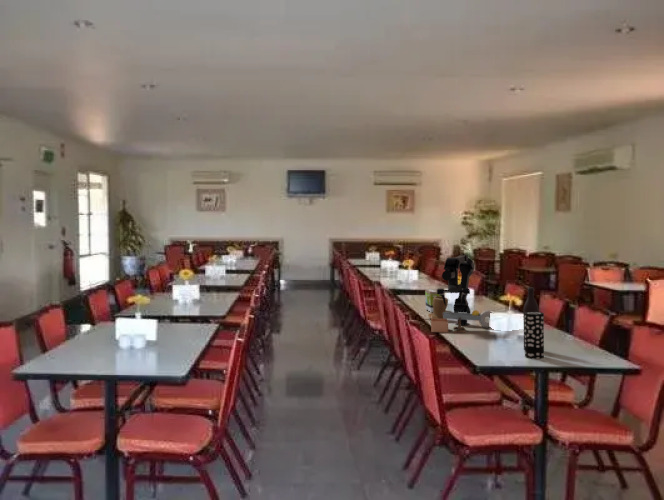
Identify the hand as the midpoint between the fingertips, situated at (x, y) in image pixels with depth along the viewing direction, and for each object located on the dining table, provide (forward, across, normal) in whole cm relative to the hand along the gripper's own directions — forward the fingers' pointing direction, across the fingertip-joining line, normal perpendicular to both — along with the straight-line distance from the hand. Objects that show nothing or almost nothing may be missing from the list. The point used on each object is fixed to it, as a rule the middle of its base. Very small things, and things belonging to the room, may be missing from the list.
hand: (453, 306), depth 391 cm
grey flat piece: (+6, +4, -5) cm, 9 cm away
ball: (+4, +12, -9) cm, 15 cm away
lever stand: (+13, +3, -8) cm, 16 cm away
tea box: (+14, -9, +75) cm, 76 cm away
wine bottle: (+13, +33, -67) cm, 76 cm away
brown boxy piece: (+13, -8, -8) cm, 18 cm away
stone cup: (+13, -8, +34) cm, 37 cm away
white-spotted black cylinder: (+13, +32, -82) cm, 89 cm away
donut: (+13, +19, +1) cm, 23 cm away
